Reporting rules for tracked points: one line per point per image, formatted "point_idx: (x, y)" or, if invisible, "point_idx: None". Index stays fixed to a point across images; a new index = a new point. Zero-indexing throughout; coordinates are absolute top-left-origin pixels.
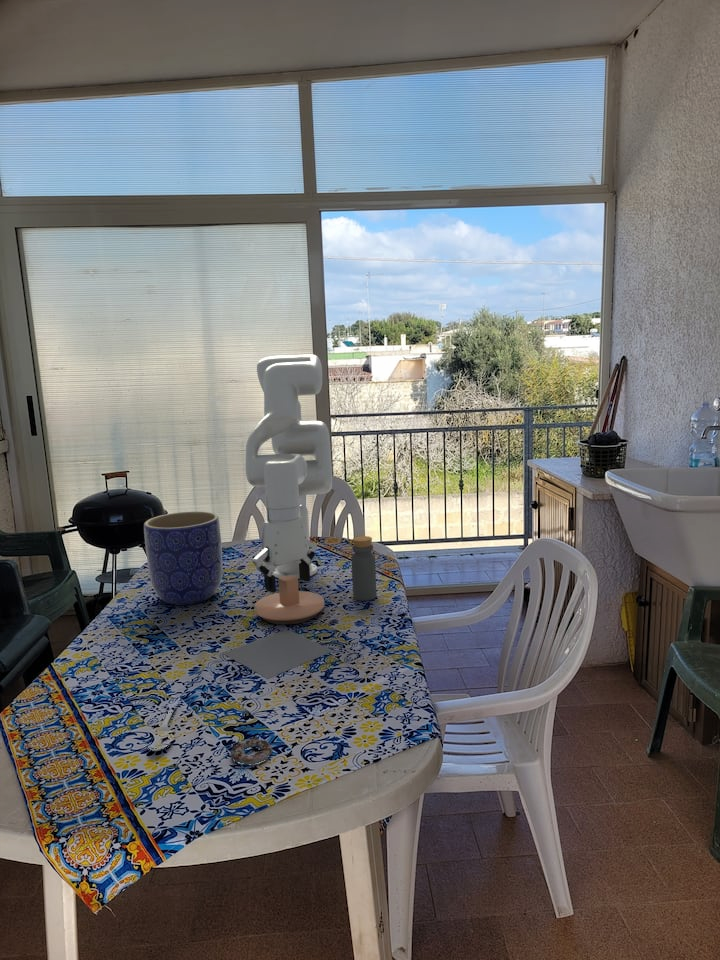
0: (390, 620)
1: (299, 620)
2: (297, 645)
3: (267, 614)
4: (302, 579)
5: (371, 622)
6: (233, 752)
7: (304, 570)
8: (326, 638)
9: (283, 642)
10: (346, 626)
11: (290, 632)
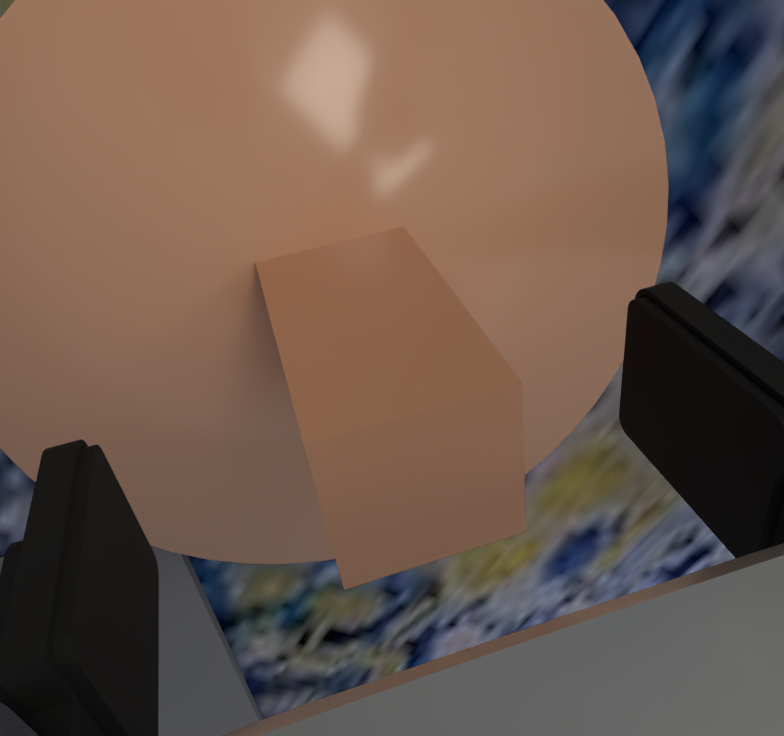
0: (691, 572)
1: None
2: None
3: (30, 472)
4: (630, 350)
5: (621, 563)
6: None
7: (709, 484)
8: (335, 643)
9: None
10: (503, 561)
11: (170, 573)
